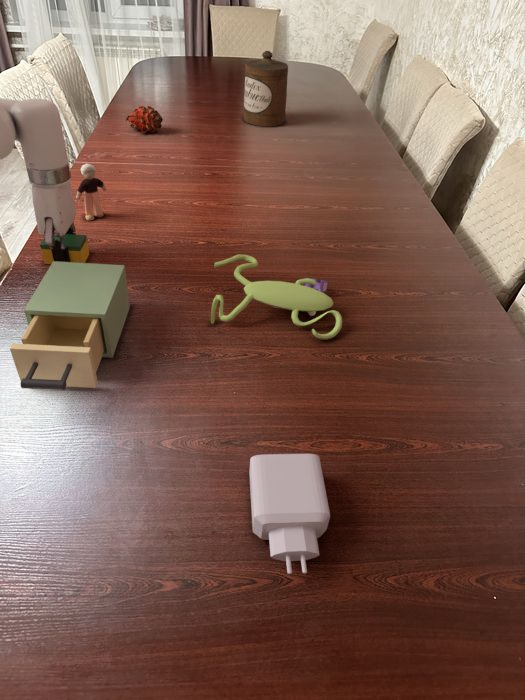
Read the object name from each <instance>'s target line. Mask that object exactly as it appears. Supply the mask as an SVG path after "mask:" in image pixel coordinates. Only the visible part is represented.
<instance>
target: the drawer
mask: <svg viewBox="0 0 525 700" xmlns="http://www.w3.org/2000/svg"><path fill="white" fill-rule="evenodd" d="M20 339H21V343H12V344H11V345H10V347H9V351H10V354H11V357H12V360H13V362H14V363H13V364H14V366H15V369H16V371H17V372H16V373H17V375H18V378H19V381H20V388H21V389H27V390H28V389H30V390H31V389H32V390H48V391H49V390H51V391H65V390H66V389H67V387H68V388H89V389H90V388H91V389H96V388H97V386H98V383H99V381H98V377H97V371H98V368H99V366H100V363H101V361H102V358H103V357H102V355H103V353H104V350H105V347H106V343H105V338H104V332H103V326H102V321H101V318H91V317H72V316H53V315H34V317H33V319H32V321H31V322H30V324H29V326H27V328H26V330H25V331H24V333H23V335H22V337H21V338H20Z"/></svg>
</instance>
